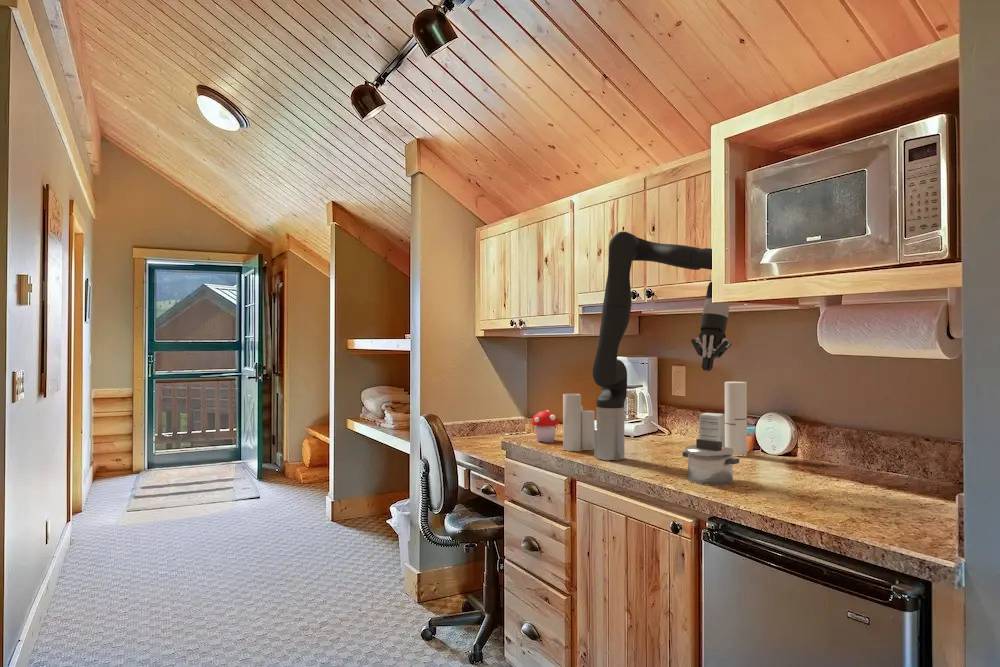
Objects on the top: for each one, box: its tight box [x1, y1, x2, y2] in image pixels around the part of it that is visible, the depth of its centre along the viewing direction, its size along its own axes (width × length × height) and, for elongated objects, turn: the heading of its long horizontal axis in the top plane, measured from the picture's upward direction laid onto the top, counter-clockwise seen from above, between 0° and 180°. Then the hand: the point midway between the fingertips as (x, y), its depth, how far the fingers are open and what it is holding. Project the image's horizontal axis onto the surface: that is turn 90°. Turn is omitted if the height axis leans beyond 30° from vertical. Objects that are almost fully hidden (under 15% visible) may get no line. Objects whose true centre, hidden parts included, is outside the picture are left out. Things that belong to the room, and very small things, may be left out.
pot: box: [682, 451, 740, 486], centre depth 183 cm, size 16×14×8 cm
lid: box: [684, 438, 733, 457], centre depth 182 cm, size 13×13×3 cm
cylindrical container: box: [724, 381, 748, 456], centre depth 223 cm, size 7×7×25 cm
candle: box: [562, 393, 596, 452], centre depth 234 cm, size 11×7×20 cm, turn 107°
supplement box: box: [698, 412, 725, 447], centre depth 235 cm, size 7×7×13 cm
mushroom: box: [530, 409, 559, 443], centre depth 253 cm, size 11×11×12 cm
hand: (706, 370), depth 196 cm, fingers closed
